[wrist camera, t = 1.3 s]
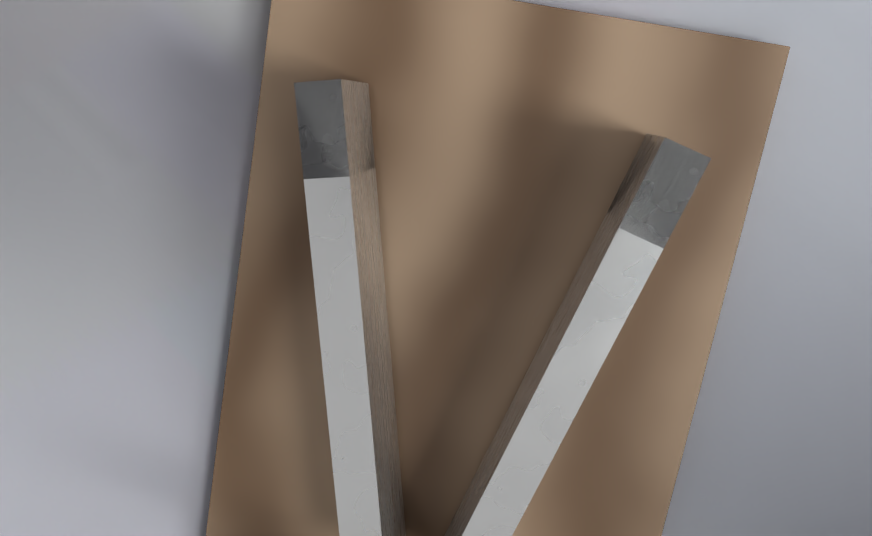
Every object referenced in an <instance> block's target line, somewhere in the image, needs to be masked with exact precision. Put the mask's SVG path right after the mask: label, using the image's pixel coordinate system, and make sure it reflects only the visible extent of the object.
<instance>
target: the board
mask: <svg viewBox="0 0 872 536" xmlns="http://www.w3.org/2000/svg"><path fill="white" fill-rule="evenodd" d="M789 50H790V47H788V46H782V45H776V44H770V43H764V42H758V41H752V40H746V39H740V38H734V37H729V36H723V35H717V34H711V33H705V32H699V31H693V30H687V29H681V28H675V27H669V26H663V25H657V24H651V23H645V22H639V21H633V20H627V19H621V18H615V17H609V16H603V15H597V14H591V13H585V12H579V11H573V10H567V9H561V8H555V7H549V6H543V5H537V4H531V3H525V2H519V1H513V0H272V1H271V9H270V17H269V25H268V33H267V41H266V50H265V58H264V66H263V74H262V82H261V90H260V98H259V106H258V115H257V123H256V131H255V139H254V147H253V155H252V163H251V172H250V180H249V188H248V196H247V204H246V212H245V220H244V228H243V237H242V245H241V253H240V261H239V269H238V277H237V285H236V294H235V302H234V310H233V318H232V326H231V334H230V342H229V350H228V359H227V367H226V375H225V383H224V391H223V399H222V407H221V416H220V424H219V432H218V440H217V448H216V456H215V464H214V472H213V481H212V489H211V497H210V505H209V513H208V521H207V529H206V536H339V526H338V516H337V506H336V496H335V487H334V477H333V467H332V457H331V447H330V437H329V427H328V417H327V407H326V397H325V387H324V377H323V367H322V357H321V347H320V337H319V327H318V318H317V308H316V298H315V288H314V278H313V268H312V258H311V248H310V238H309V228H308V218H307V208H306V198H305V188H304V178H303V168H302V159H301V149H300V139H299V129H298V119H297V109H296V99H295V89H294V83H297V82H309V81H322V80H335V79H344V80H350V81H356V82H363V83H368V87H369V99H370V111H371V123H372V135H373V147H374V159H375V171H376V183H377V195H378V207H379V219H380V231H381V243H382V255H383V267H384V279H385V291H386V303H387V315H388V327H389V339H390V351H391V363H392V375H393V387H394V399H395V411H396V423H397V435H398V447H399V459H400V471H401V483H402V495H403V507H404V519H405V531H406V536H445V534H446V532H447V530H448V528H449V526H450V524H451V522H452V520H453V518H454V516H455V514H456V512H457V510H458V508H459V506H460V504H461V502H462V500H463V498H464V496H465V494H466V492H467V490H468V488H469V486H470V484H471V482H472V480H473V478H474V476H475V474H476V472H477V470H478V468H479V466H480V464H481V462H482V460H483V458H484V456H485V454H486V452H487V450H488V448H489V446H490V444H491V442H492V440H493V438H494V436H495V434H496V432H497V430H498V428H499V426H500V424H501V422H502V420H503V418H504V416H505V414H506V412H507V410H508V408H509V406H510V404H511V402H512V401H513V399H514V397H515V395H516V393H517V391H518V389H519V387H520V385H521V383H522V381H523V379H524V377H525V375H526V373H527V371H528V369H529V367H530V365H531V363H532V361H533V359H534V357H535V355H536V353H537V351H538V349H539V347H540V345H541V343H542V341H543V339H544V337H545V335H546V333H547V331H548V329H549V327H550V325H551V323H552V321H553V319H554V317H555V315H556V313H557V311H558V309H559V307H560V305H561V303H562V301H563V299H564V297H565V295H566V293H567V291H568V289H569V287H570V285H571V283H572V281H573V279H574V277H575V275H576V273H577V271H578V269H579V267H580V265H581V263H582V261H583V259H584V257H585V255H586V253H587V251H588V249H589V248H590V246H591V244H592V242H593V240H594V238H595V236H596V234H597V232H598V230H599V228H600V226H601V224H602V222H603V220H604V218H605V216H606V214H607V212H608V210H609V208H610V206H611V204H612V202H613V200H614V198H615V196H616V194H617V192H618V190H619V188H620V186H621V184H622V182H623V180H624V178H625V176H626V174H627V172H628V170H629V168H630V166H631V164H632V162H633V160H634V158H635V156H636V154H637V152H638V150H639V148H640V146H641V144H642V142H643V140H644V138H645V136H646V134H652V135H656V136H661V137H665V138H668V139H670V140H672V141H674V142H676V143H679V144H681V145H683V146H685V147H687V148H690V149H692V150H694V151H696V152H698V153H701V154H703V155H705V156H707V157H709V158H711V160H710V162H709V164H708V166H707V167H706V169H705V171H704V173H703V175H702V177H701V179H700V181H699V183H698V184H697V186H696V188H695V190H694V192H693V194H692V196H691V198H690V200H689V202H688V203H687V205H686V207H685V209H684V211H683V213H682V215H681V217H680V219H679V220H678V222H677V224H676V226H675V228H674V230H673V232H672V234H671V236H670V238H669V239H668V241H667V243H666V245H665V247H664V249H663V251H662V253H661V255H660V256H659V258H658V260H657V262H656V264H655V266H654V268H653V270H652V272H651V274H650V275H649V277H648V279H647V281H646V283H645V285H644V287H643V289H642V291H641V292H640V294H639V296H638V298H637V300H636V302H635V304H634V306H633V308H632V310H631V311H630V313H629V315H628V317H627V319H626V321H625V323H624V325H623V327H622V328H621V330H620V332H619V334H618V336H617V338H616V340H615V342H614V344H613V345H612V347H611V349H610V351H609V353H608V355H607V357H606V359H605V361H604V363H603V364H602V366H601V368H600V370H599V372H598V374H597V376H596V378H595V380H594V381H593V383H592V385H591V387H590V389H589V391H588V393H587V395H586V397H585V399H584V400H583V402H582V404H581V406H580V408H579V410H578V412H577V414H576V416H575V417H574V419H573V421H572V423H571V425H570V427H569V429H568V431H567V433H566V435H565V436H564V438H563V440H562V442H561V444H560V446H559V448H558V450H557V452H556V453H555V455H554V457H553V459H552V461H551V463H550V465H549V467H548V469H547V471H546V472H545V474H544V476H543V478H542V480H541V482H540V484H539V486H538V488H537V489H536V491H535V493H534V495H533V497H532V499H531V501H530V503H529V505H528V506H527V508H526V510H525V512H524V514H523V516H522V518H521V520H520V522H519V524H518V525H517V527H516V529H515V531H514V533H513V535H512V536H661V535H662V531H663V527H664V523H665V520H666V516H667V512H668V508H669V504H670V501H671V497H672V493H673V489H674V485H675V482H676V478H677V474H678V470H679V467H680V463H681V459H682V455H683V451H684V448H685V444H686V440H687V436H688V432H689V429H690V425H691V421H692V417H693V413H694V410H695V406H696V402H697V398H698V395H699V391H700V387H701V383H702V379H703V376H704V372H705V368H706V364H707V360H708V357H709V353H710V349H711V345H712V341H713V338H714V334H715V330H716V326H717V323H718V319H719V315H720V311H721V307H722V304H723V300H724V296H725V292H726V288H727V285H728V281H729V277H730V273H731V269H732V266H733V262H734V258H735V254H736V251H737V247H738V243H739V239H740V235H741V232H742V228H743V224H744V220H745V216H746V213H747V209H748V205H749V201H750V197H751V194H752V190H753V186H754V182H755V179H756V175H757V171H758V167H759V163H760V160H761V156H762V152H763V148H764V144H765V141H766V137H767V133H768V129H769V125H770V122H771V118H772V114H773V110H774V107H775V103H776V99H777V95H778V91H779V88H780V84H781V80H782V76H783V72H784V69H785V65H786V61H787V57H788V53H789Z"/></svg>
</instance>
